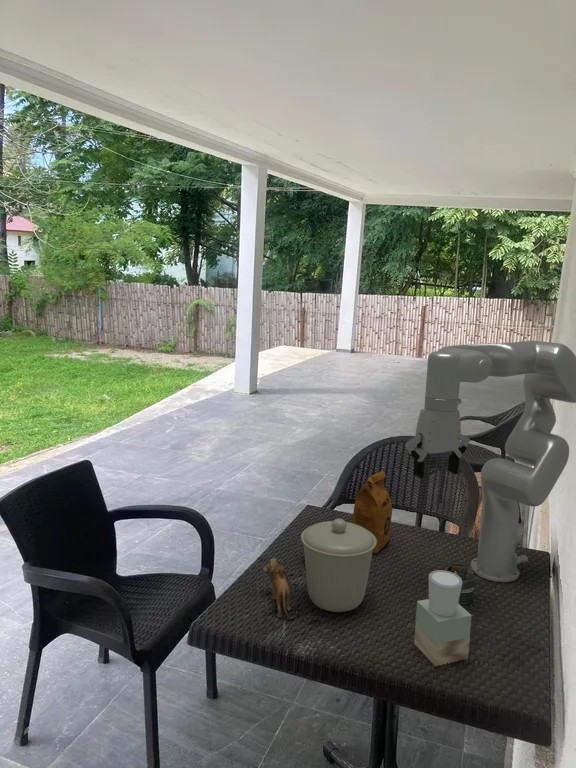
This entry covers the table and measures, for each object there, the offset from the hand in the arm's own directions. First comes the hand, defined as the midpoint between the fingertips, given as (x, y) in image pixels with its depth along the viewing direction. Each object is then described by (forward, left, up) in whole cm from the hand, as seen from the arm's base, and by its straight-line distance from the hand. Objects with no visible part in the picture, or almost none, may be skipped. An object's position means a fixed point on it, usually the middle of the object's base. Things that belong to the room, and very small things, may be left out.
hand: (435, 474), depth 137 cm
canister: (+22, -6, -32) cm, 40 cm away
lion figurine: (+36, -9, -32) cm, 49 cm away
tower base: (+9, +19, -32) cm, 38 cm away
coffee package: (-1, -30, -32) cm, 44 cm away
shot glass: (+9, +19, -22) cm, 31 cm away
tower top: (+9, +19, -27) cm, 34 cm away
